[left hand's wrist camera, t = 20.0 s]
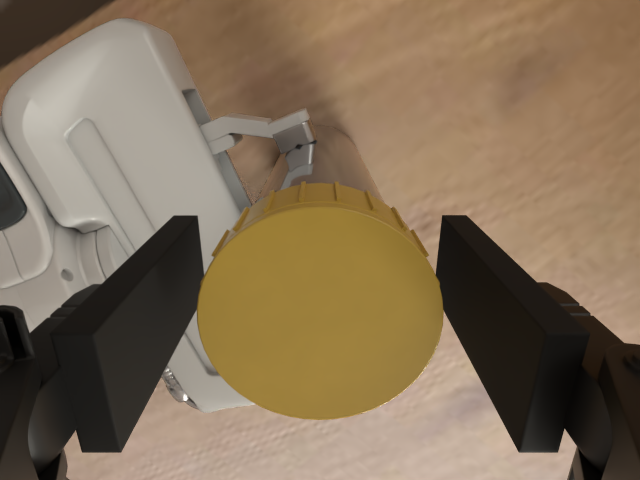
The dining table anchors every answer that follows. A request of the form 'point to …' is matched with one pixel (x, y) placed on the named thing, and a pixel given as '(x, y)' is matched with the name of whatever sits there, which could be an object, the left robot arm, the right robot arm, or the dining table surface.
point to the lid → (320, 303)
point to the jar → (321, 165)
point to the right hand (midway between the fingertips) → (336, 185)
